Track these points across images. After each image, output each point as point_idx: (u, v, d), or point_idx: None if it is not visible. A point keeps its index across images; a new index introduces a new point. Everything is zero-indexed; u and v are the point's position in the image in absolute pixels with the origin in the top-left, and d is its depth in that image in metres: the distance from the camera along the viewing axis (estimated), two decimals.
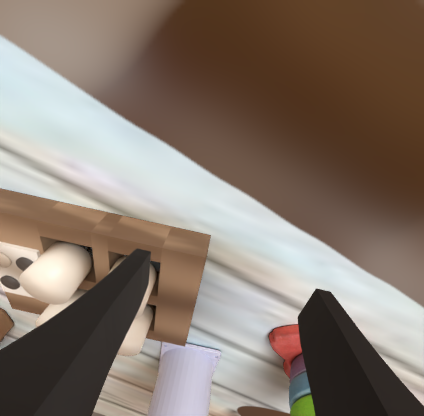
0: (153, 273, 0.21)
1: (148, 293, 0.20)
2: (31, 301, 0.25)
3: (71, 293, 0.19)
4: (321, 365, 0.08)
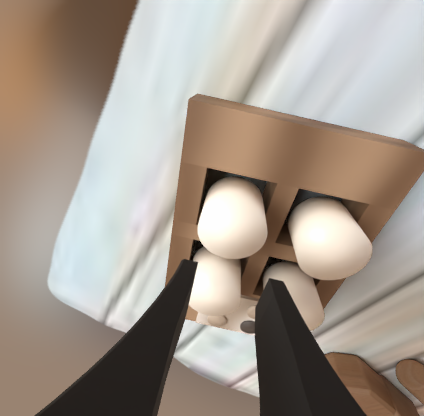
0: (225, 180, 0.15)
1: (234, 191, 0.14)
2: None
3: (222, 278, 0.16)
4: (267, 353, 0.08)
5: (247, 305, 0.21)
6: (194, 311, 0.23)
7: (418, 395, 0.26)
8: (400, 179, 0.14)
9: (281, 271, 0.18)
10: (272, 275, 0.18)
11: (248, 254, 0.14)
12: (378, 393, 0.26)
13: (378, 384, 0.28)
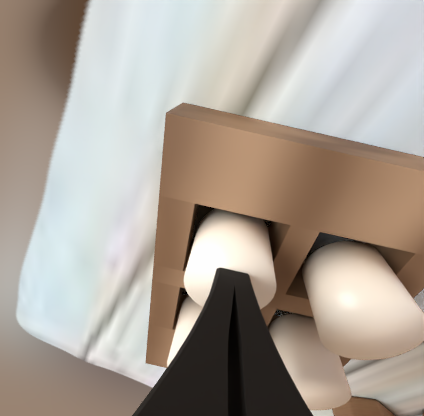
0: (221, 212, 0.12)
1: (232, 231, 0.10)
2: None
3: None
4: None
5: None
6: None
7: None
8: None
9: (292, 329, 0.14)
10: (281, 333, 0.14)
11: None
12: None
13: None
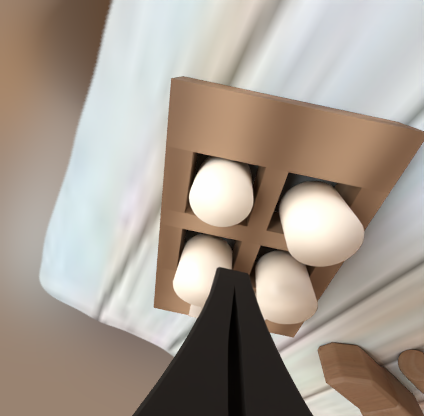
0: None
1: (222, 162, 0.15)
2: None
3: (211, 266, 0.15)
4: None
5: None
6: (187, 304, 0.22)
7: (422, 386, 0.25)
8: (393, 160, 0.13)
9: (273, 260, 0.17)
10: (264, 265, 0.18)
11: (237, 221, 0.15)
12: (380, 384, 0.25)
13: (380, 375, 0.27)
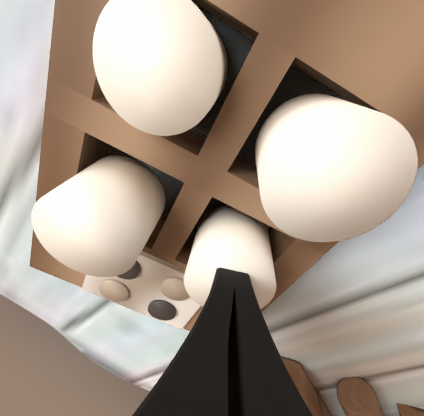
0: None
1: None
2: None
3: (109, 199, 0.08)
4: None
5: (163, 275, 0.13)
6: None
7: None
8: None
9: (226, 216, 0.11)
10: (211, 220, 0.11)
11: (179, 129, 0.08)
12: (314, 413, 0.20)
13: (314, 400, 0.22)
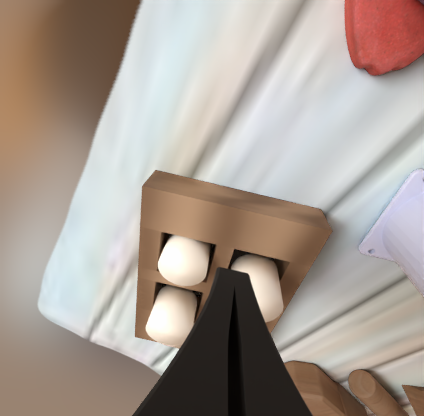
0: None
1: (184, 239, 0.19)
2: None
3: (174, 317, 0.20)
4: None
5: None
6: None
7: (365, 402, 0.29)
8: (310, 246, 0.18)
9: None
10: None
11: (195, 283, 0.20)
12: (330, 399, 0.29)
13: (332, 390, 0.31)
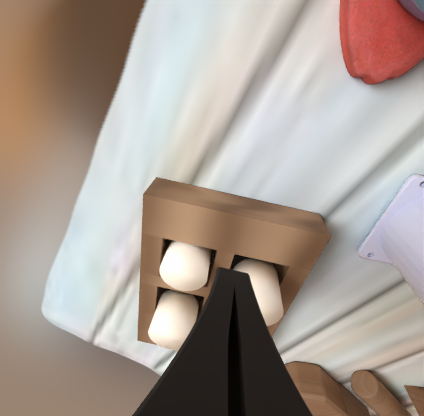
0: None
1: (185, 245, 0.19)
2: None
3: (176, 322, 0.20)
4: None
5: None
6: None
7: (368, 402, 0.29)
8: (309, 251, 0.18)
9: None
10: None
11: (196, 288, 0.20)
12: (333, 399, 0.29)
13: (334, 391, 0.31)
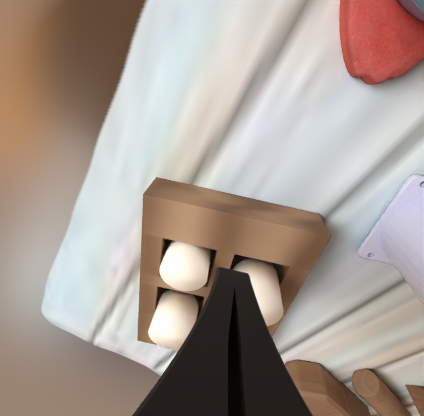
0: None
1: (185, 245, 0.19)
2: None
3: (176, 322, 0.20)
4: None
5: None
6: None
7: (369, 401, 0.29)
8: (309, 251, 0.18)
9: None
10: None
11: (196, 288, 0.20)
12: (334, 398, 0.29)
13: (335, 389, 0.30)
